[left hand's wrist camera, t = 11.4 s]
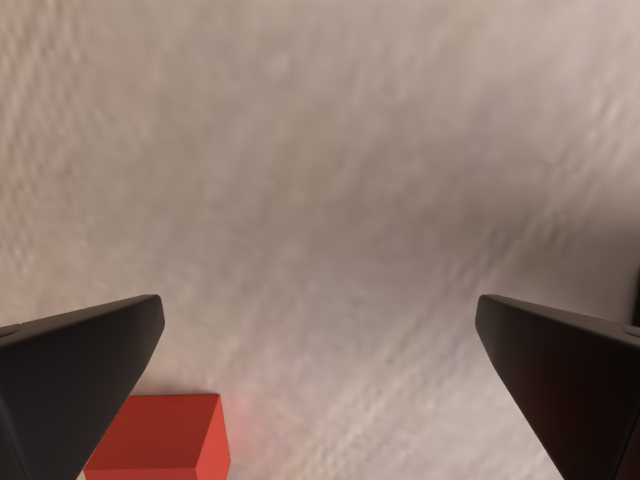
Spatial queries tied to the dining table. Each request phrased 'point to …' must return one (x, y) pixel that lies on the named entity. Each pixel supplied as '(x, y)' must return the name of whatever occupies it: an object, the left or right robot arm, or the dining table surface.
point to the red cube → (164, 441)
